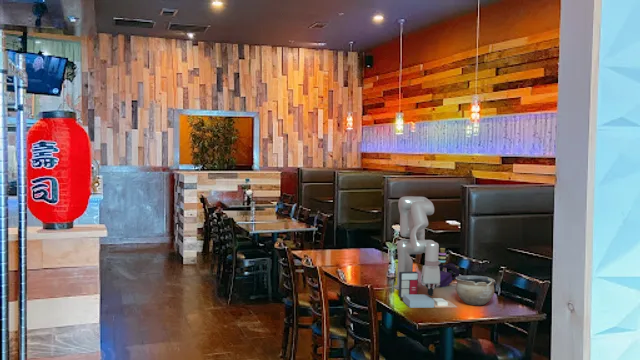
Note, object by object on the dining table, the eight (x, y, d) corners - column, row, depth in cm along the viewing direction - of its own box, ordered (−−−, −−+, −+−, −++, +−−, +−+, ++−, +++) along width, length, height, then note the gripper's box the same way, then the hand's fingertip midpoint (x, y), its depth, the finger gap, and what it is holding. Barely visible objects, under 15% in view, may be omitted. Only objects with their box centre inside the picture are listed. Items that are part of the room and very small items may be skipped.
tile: (442, 298, 327) (442, 301, 327) (432, 298, 326) (432, 301, 326) (447, 302, 318) (447, 305, 318) (437, 302, 317) (437, 305, 317)
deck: (402, 301, 327) (403, 294, 326) (426, 301, 328) (426, 294, 328) (409, 307, 313) (410, 300, 313) (434, 307, 315) (434, 300, 314)
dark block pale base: (400, 298, 334) (401, 273, 334) (398, 296, 338) (399, 271, 338) (418, 297, 336) (418, 272, 336) (415, 295, 340) (416, 271, 340)
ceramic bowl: (466, 309, 312) (467, 282, 312) (448, 299, 333) (448, 274, 333) (501, 307, 318) (502, 281, 318) (481, 298, 339) (481, 273, 339)
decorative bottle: (456, 283, 379) (457, 246, 378) (460, 290, 358) (462, 251, 357) (422, 281, 382) (424, 245, 381) (425, 288, 361) (426, 250, 360)
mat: (427, 301, 328) (427, 300, 328) (448, 301, 330) (448, 300, 330) (434, 307, 315) (434, 306, 315) (457, 307, 316) (457, 306, 316)
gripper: (441, 262, 325) (440, 293, 326) (416, 262, 323) (415, 293, 324) (446, 265, 318) (445, 297, 318) (420, 264, 316) (419, 297, 317)
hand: (430, 295), depth 321 cm, fingers closed
